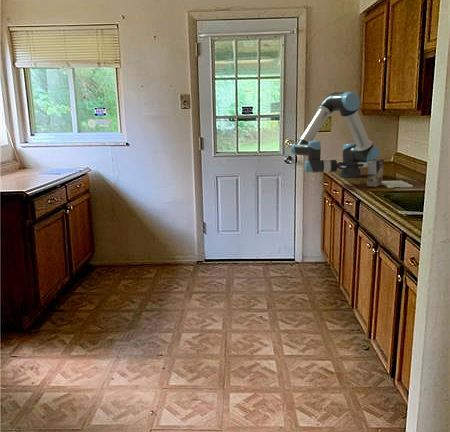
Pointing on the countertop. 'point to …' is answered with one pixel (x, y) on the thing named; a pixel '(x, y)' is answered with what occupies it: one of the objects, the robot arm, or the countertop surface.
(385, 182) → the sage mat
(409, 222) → the countertop surface
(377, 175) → the coffee box
